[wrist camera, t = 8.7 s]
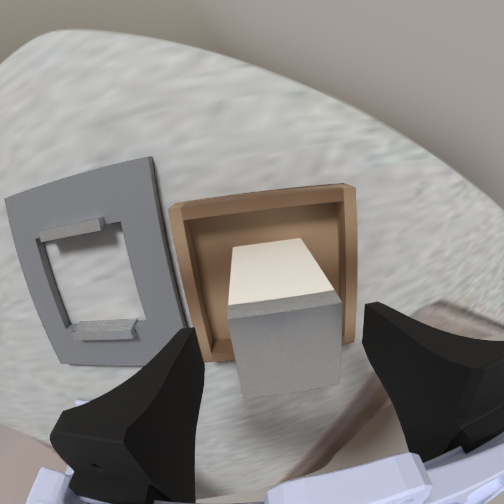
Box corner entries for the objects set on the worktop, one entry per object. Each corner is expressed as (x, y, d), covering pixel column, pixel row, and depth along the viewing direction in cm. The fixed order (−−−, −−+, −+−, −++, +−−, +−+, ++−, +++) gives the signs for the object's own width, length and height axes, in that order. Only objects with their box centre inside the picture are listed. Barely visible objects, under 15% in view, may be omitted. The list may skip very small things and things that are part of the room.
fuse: (305, 298, 19) (339, 383, 11) (242, 306, 19) (243, 398, 11) (300, 238, 18) (342, 302, 10) (232, 247, 18) (226, 319, 10)
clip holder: (194, 356, 21) (192, 369, 19) (64, 358, 21) (57, 368, 19) (151, 156, 16) (143, 157, 15) (10, 196, 16) (-2, 200, 15)
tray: (345, 326, 20) (354, 342, 18) (205, 345, 20) (202, 362, 18) (343, 183, 17) (355, 187, 15) (175, 203, 17) (167, 209, 15)
